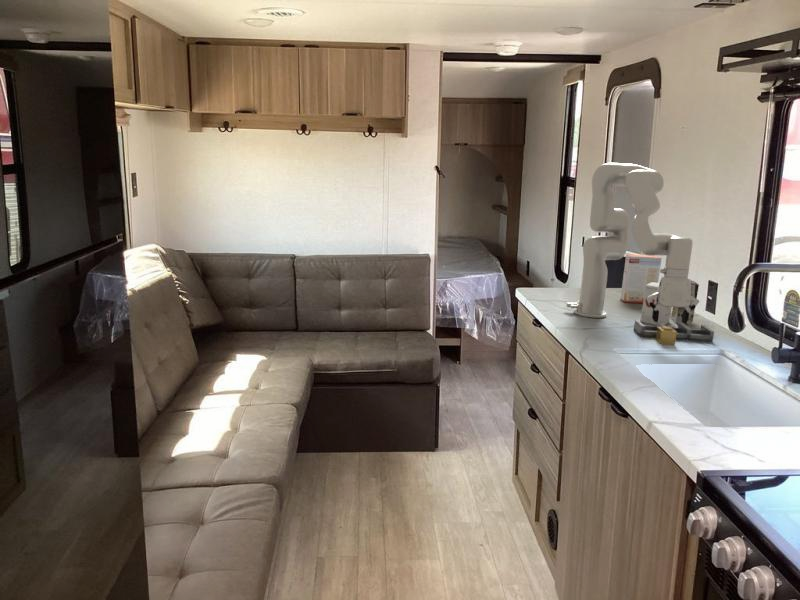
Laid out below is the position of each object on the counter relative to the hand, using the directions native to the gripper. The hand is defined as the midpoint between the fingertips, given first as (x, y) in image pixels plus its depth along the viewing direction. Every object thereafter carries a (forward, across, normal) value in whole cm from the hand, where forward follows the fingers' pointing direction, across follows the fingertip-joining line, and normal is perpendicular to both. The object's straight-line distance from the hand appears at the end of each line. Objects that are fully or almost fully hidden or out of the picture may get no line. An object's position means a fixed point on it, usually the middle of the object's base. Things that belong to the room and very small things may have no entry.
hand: (669, 322), depth 222 cm
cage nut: (+8, 0, +1) cm, 8 cm away
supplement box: (+7, +5, +30) cm, 31 cm away
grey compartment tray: (+7, +5, +10) cm, 14 cm away
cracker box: (+6, +8, +66) cm, 67 cm away
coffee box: (+7, +17, +35) cm, 39 cm away
